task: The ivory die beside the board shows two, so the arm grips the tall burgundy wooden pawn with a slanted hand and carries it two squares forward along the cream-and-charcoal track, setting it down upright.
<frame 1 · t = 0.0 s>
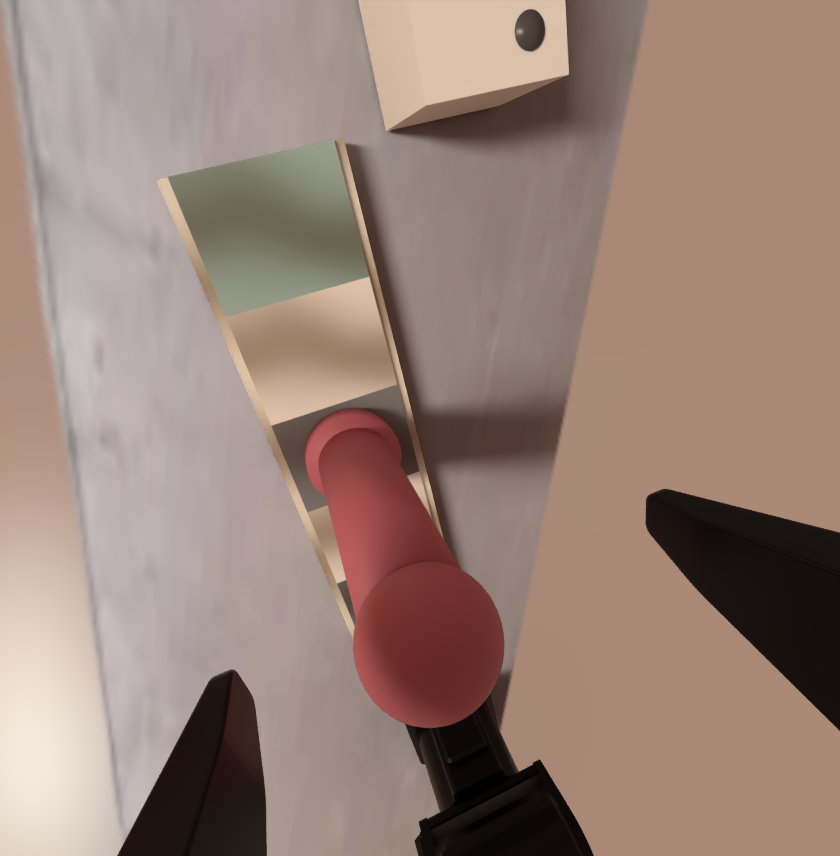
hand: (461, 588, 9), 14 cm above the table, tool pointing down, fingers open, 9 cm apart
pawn: (351, 450, 23), point 1 cm above the table, touching board
board: (347, 441, 23), on the table
die: (431, 41, 18), on the table
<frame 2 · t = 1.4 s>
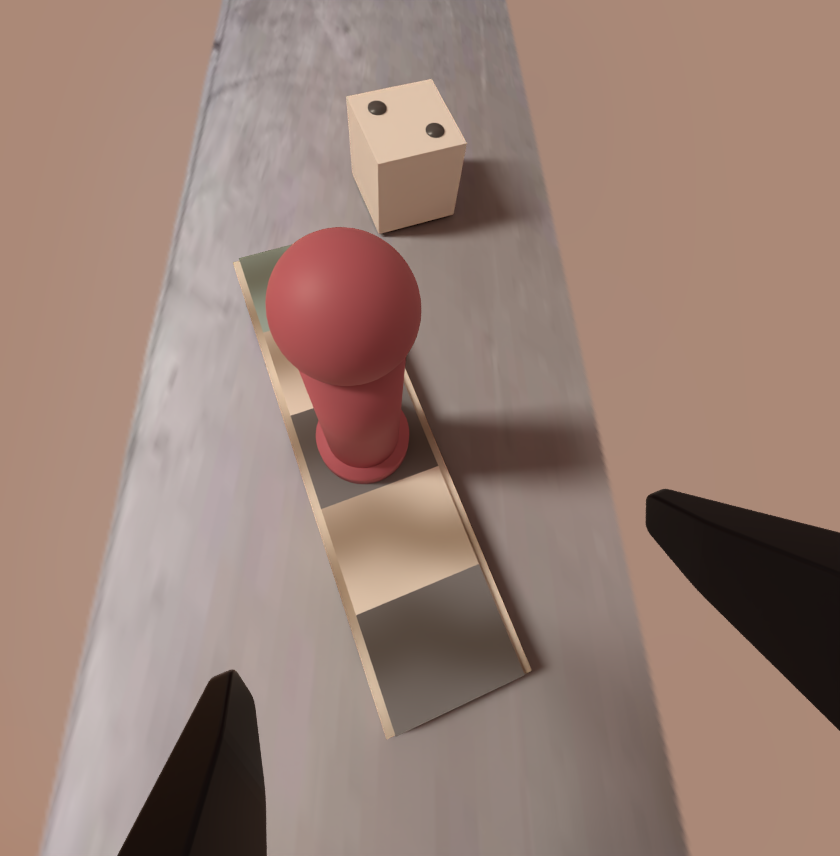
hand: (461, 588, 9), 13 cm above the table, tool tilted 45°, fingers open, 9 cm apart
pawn: (363, 440, 23), point 1 cm above the table, touching board
board: (364, 446, 24), on the table
die: (402, 193, 30), on the table
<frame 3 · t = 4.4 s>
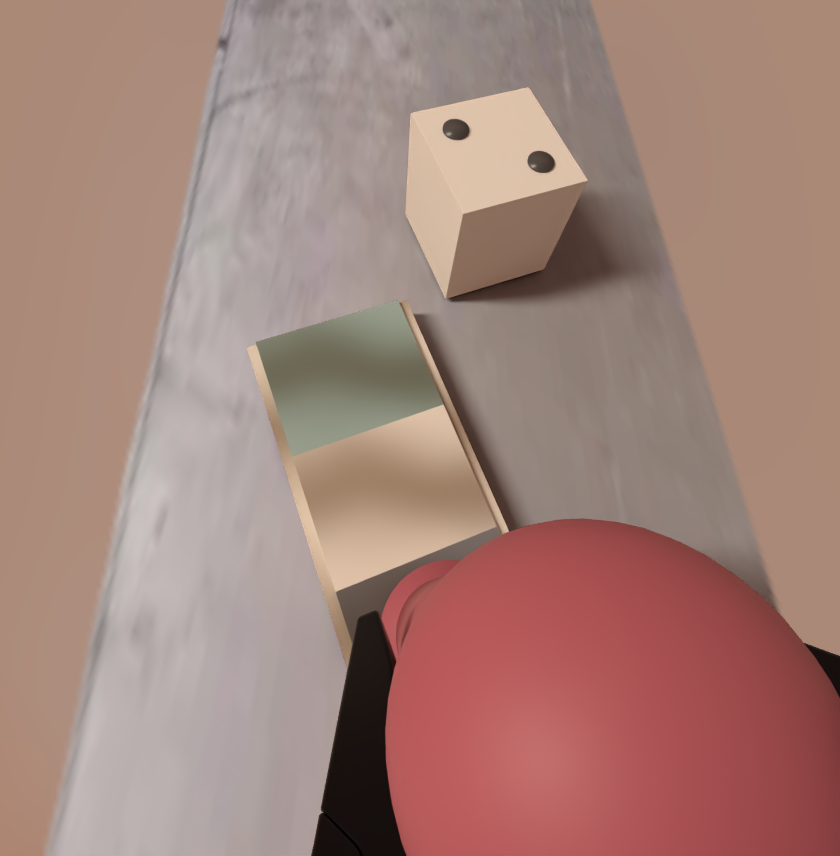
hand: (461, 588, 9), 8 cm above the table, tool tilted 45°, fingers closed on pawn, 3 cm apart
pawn: (446, 631, 15), point 1 cm above the table, touching board, gripper
board: (443, 628, 16), on the table
die: (474, 241, 22), on the table
when the fingers open (9 cm above the table, at t = 7.6 s): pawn drops 1 cm, resting on board.
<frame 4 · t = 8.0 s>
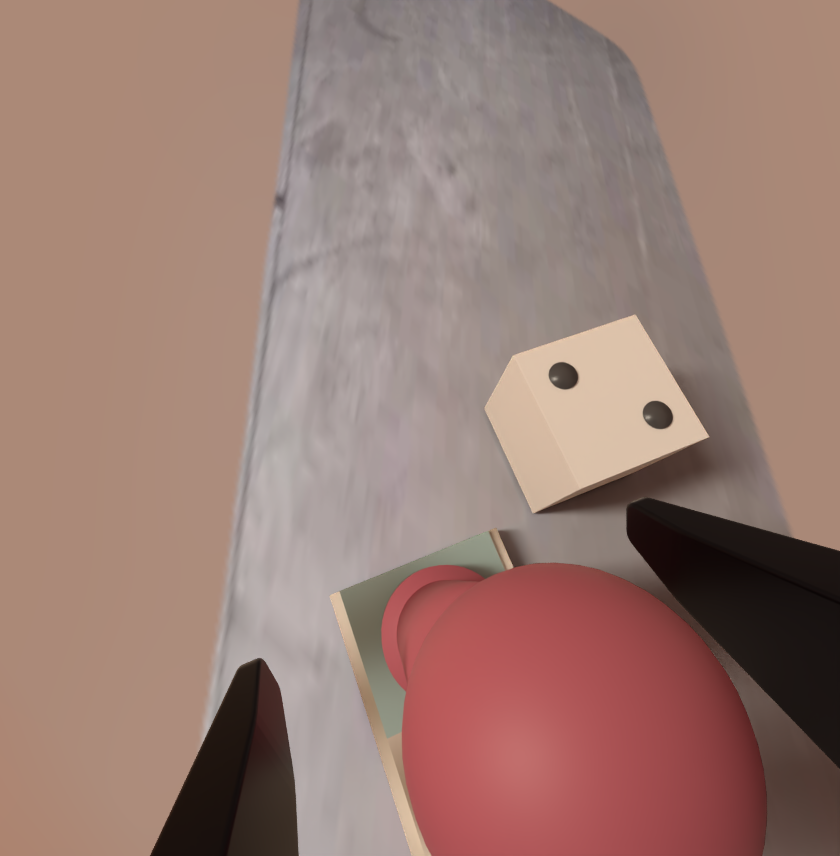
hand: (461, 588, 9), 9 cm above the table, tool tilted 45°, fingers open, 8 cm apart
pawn: (442, 629, 17), point 1 cm above the table, touching board
die: (558, 439, 21), on the table
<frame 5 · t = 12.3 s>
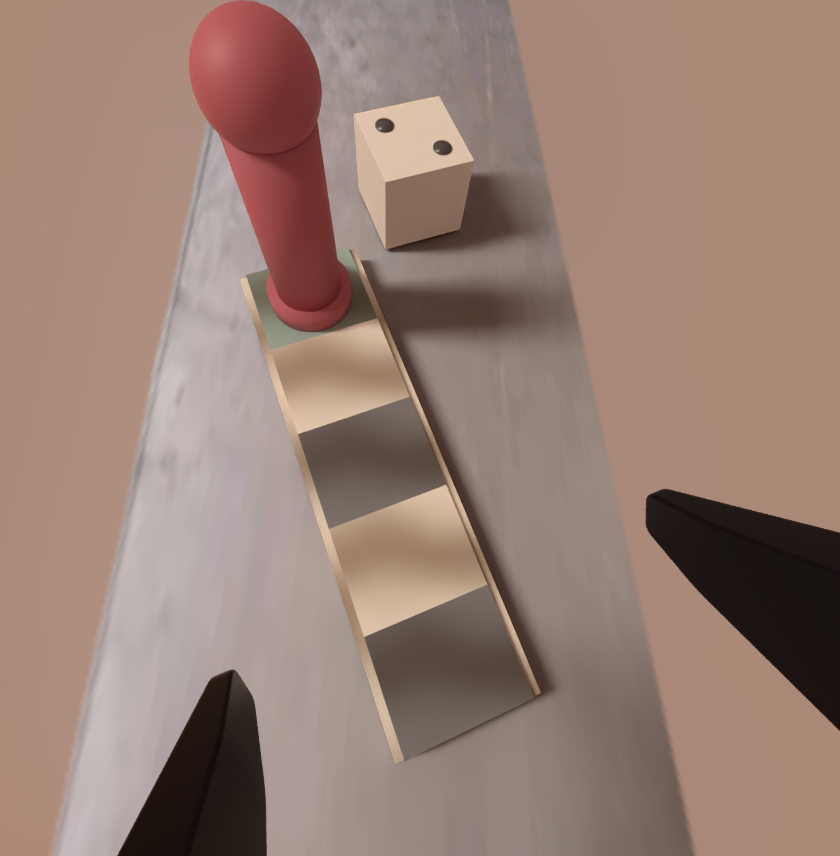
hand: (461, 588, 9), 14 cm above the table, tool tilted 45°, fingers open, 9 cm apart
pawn: (312, 297, 26), point 1 cm above the table, touching board
board: (372, 464, 24), on the table
die: (409, 208, 30), on the table
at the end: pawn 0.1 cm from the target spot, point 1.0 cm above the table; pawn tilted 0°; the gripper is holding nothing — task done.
